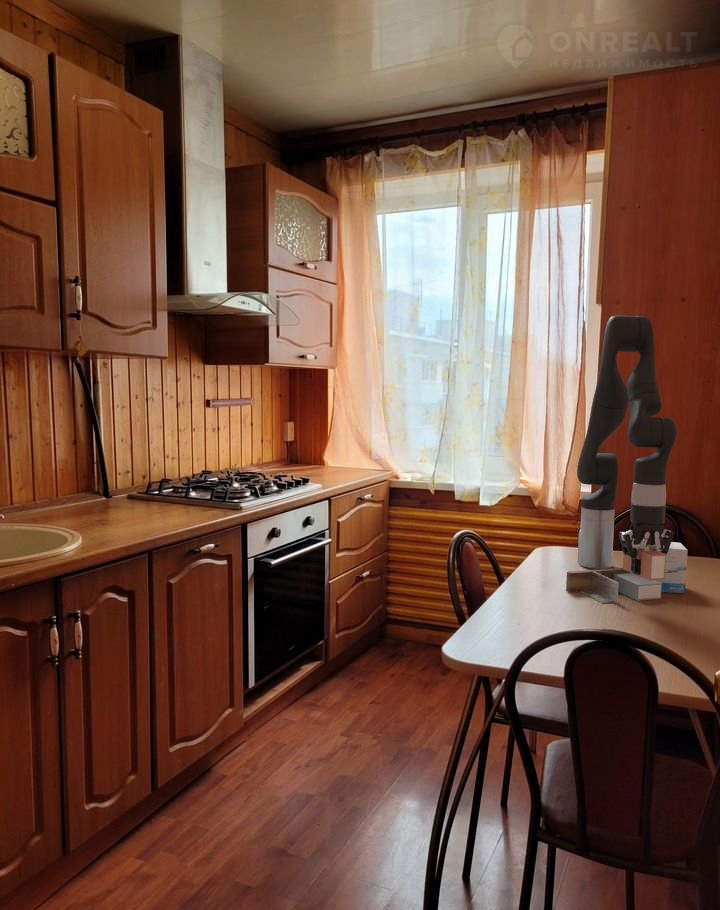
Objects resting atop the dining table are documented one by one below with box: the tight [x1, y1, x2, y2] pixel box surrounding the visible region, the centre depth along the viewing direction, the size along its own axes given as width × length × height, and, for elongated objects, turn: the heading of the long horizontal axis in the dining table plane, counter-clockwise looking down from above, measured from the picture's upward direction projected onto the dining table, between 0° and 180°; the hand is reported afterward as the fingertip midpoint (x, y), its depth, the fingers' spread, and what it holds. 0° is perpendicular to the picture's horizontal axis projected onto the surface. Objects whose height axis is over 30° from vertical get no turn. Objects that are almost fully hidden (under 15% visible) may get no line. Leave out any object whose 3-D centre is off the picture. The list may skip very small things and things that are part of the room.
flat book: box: [613, 573, 662, 601], centre depth 179 cm, size 10×7×4 cm
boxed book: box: [622, 544, 666, 580], centre depth 166 cm, size 10×4×6 cm, turn 15°
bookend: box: [579, 572, 619, 604], centre depth 176 cm, size 10×4×5 cm, turn 15°
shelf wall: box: [565, 567, 631, 593], centre depth 183 cm, size 2×18×5 cm, turn 105°
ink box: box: [646, 541, 689, 594], centre depth 184 cm, size 9×8×12 cm
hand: (644, 573), depth 166 cm, fingers closed on boxed book, 4 cm apart
